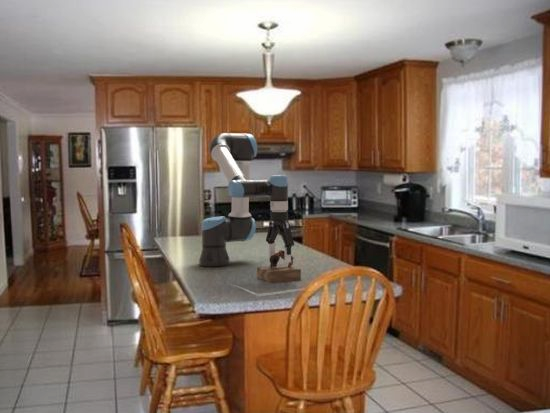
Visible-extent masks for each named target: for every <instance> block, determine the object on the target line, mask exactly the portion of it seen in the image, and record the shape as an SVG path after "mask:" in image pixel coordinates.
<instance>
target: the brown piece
mask: <svg viewBox="0 0 550 413" xmlns="http://www.w3.org/2000/svg"><path fill="white" fill-rule="evenodd" d="M280 259H282V260H284V261H285V250H280V249H279V251H278V252H275V254H274V255H272V256H271V257H270V259H269V258H268V261H269V263H270V264H269V266H270V267H271V268H272V266H273V267H276V266H277V265H278V262H279V261H280ZM294 259H295V258H294V256H293V255H292V254H291V262H289V263H288V264H287V265H288V268H290V267H291V266H293V264H294V261H293V260H294Z"/></svg>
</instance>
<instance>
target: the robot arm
mask: <svg viewBox="0 0 550 413" xmlns="http://www.w3.org/2000/svg"><path fill="white" fill-rule="evenodd" d="M208 151H209V155H210V157H211V158H212V160H213V161H214V162H216V163H217V165H218V166H219V168H220V170H221V171H222V173H223V175H224V176H225V178H226V180H227V181H228V183H227V184H228V185H227V192H228V195H229V196H230V197H231V212H229V213H228V217H227V218H226V216H222V215H220V216H212V217H208V218H205V219H203V220H202V222H201V242H202V243H201V244H202V245H201V246H202V250H201V253H200V256H199V259H198V265H199V266H202V267H223V266H227V265H230V261H231V260H230V257H229V254H228V251H227V245H226V243H233V242H235V243H236V242H242V243H243V242H245V241H246V242H248V241H251V240H252V239H253V238H254V237H255V234H256V226H257V225H256V220H255V219H254V218H253V217H252V214H251V213H250V212H249V211H250V210H249V207H250V205H249V204H250V203H249V201H250V200H249V199H250V198H268V197H269V200H270V201H269V202H270V203H269V206H270V213H269V214H270V217H269V218H270V221H269V223H268V230H267V234H266V238H265V242H266V243H267V244H268V260H269V259H270V257H271V256H272V255H274V254H275V253H276V242H275V241H276V238H277V236H278V234H279V235H280V236H281V239H282V242H283V243H284V246H283V247H284V248H283V249H284V251H285V260H284V263H285V264H287V263H288V264H289V262H291V255H292V247H295V242H294V238H293V235H292V234H293V233H292V230H291V223H290V222H286V221H288V220H289V212H288V210H289V201H288V198H289V197H288V194H289V190H288V188H289V186H288V185H289V182H288V176H287V175H285V174H277V175H276V174H275V175H273V174H272V175H270V177H269V178H268V179H250V165H251V163H252V162H253V161H254V159H253V158H256V157H257V155H258V154H257V153H258V143H257V140H256V139H255V136H254V135H253V134H251V133H245V132H243V133H242V132H239V133H236V132H235V133H233V132H228V133H227V132H223V133H222V132H221V133H219V134H217V135H215V136H214V137H213V138H212V139H211V141H210V143H209V146H208Z"/></svg>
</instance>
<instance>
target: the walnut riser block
mask: <svg viewBox="0 0 550 413" xmlns="http://www.w3.org/2000/svg"><path fill="white" fill-rule="evenodd" d="M301 270H302V269H301V268H298V267H295V266H293V265H291V267H290V268H288V264H279V265H278V264H277V266H276V267H273V266H272V268H271V267H270V265H267V266H259V267H256V278H258V279H260V280H263V281H265V282H268V283H270V284H271V283H272V284H273V283H282V282H291V281H299V280H301V279H302V278H301V277H302V275H301V274H302V273H301Z"/></svg>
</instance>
